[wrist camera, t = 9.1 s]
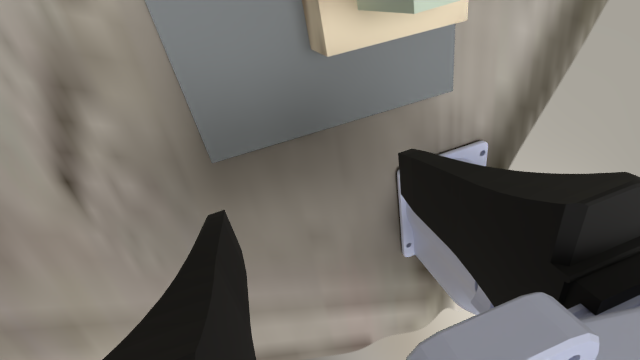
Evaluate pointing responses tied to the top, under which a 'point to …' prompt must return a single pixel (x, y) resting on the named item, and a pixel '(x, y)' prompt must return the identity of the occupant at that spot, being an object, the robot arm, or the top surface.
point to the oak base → (369, 24)
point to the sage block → (401, 5)
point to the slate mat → (287, 72)
